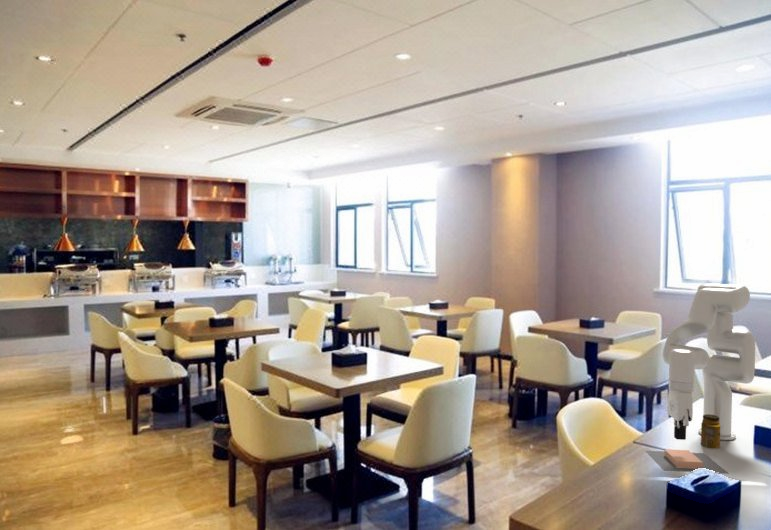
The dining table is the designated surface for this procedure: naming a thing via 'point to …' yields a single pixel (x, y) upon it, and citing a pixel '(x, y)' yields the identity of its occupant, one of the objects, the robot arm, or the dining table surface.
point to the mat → (669, 466)
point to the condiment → (710, 431)
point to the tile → (683, 459)
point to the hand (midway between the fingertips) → (679, 438)
